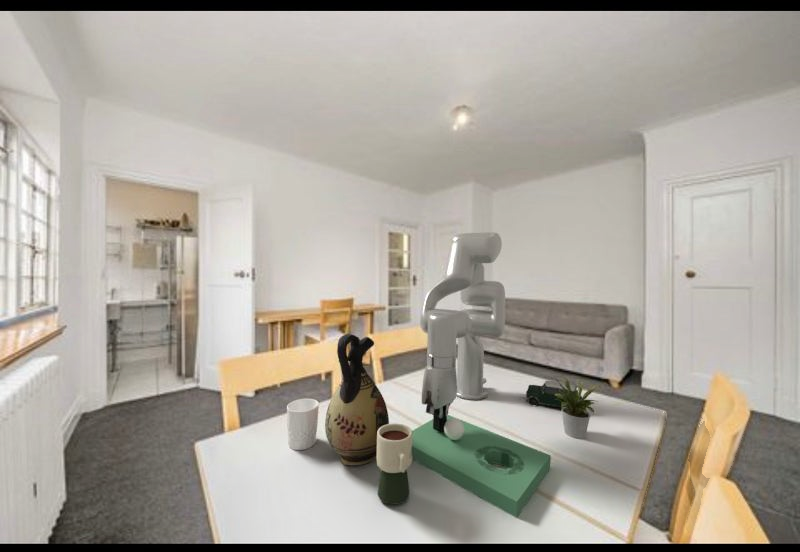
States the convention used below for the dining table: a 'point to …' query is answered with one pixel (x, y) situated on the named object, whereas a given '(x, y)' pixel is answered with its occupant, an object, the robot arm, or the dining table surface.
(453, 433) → the golf ball
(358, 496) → the dining table surface
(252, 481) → the dining table surface
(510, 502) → the board
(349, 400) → the ceramic jug
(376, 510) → the dining table surface
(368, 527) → the dining table surface
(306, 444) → the white cup
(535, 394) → the miniature car
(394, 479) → the character mug
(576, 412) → the house plant
